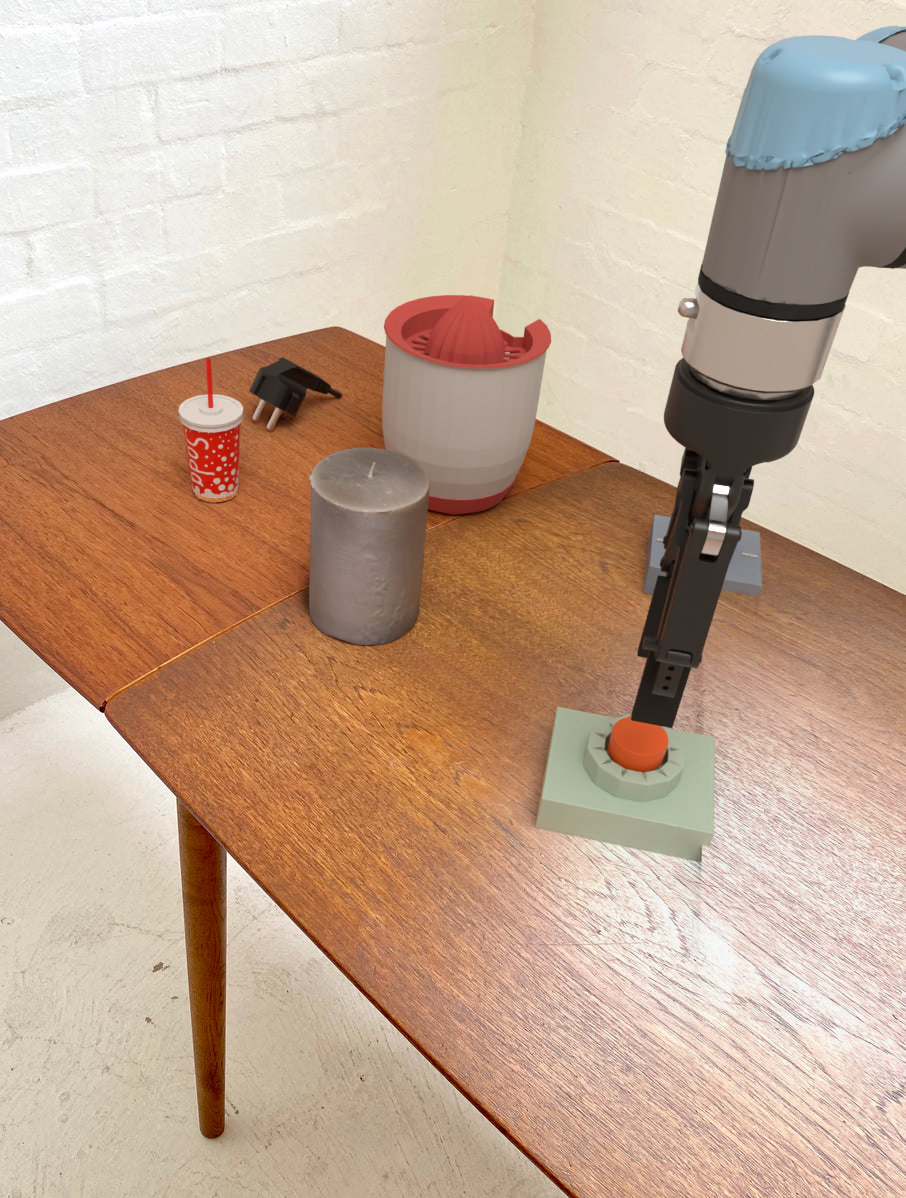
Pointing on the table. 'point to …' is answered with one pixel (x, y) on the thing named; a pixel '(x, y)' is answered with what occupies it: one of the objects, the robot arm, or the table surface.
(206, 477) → the beverage cup
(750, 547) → the dial panel
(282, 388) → the power plug
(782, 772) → the table surface
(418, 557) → the pillar candle
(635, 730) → the orange push button
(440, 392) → the citrus juicer
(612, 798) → the push button base
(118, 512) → the table surface
